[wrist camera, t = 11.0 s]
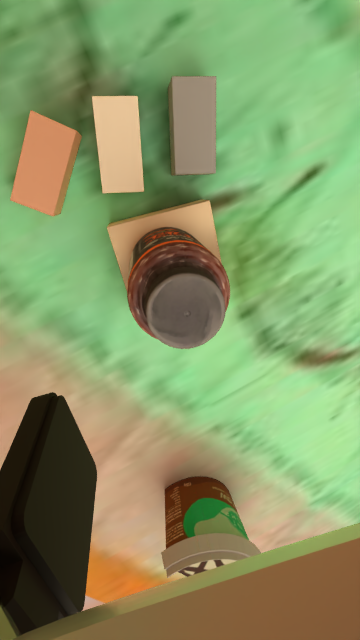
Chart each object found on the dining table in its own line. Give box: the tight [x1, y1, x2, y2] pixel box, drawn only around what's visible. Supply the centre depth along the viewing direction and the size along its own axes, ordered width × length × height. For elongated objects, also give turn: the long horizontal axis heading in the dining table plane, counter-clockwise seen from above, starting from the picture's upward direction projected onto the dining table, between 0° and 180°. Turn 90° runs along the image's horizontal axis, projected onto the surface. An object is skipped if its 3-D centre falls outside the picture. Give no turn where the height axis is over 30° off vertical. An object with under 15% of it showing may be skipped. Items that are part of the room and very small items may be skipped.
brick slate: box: [168, 76, 216, 176], centre depth 25 cm, size 6×3×3 cm, turn 2°
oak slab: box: [107, 199, 222, 290], centre depth 28 cm, size 8×8×3 cm
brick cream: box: [92, 96, 144, 193], centre depth 25 cm, size 6×3×3 cm, turn 2°
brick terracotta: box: [10, 111, 82, 216], centre depth 25 cm, size 6×3×3 cm, turn 158°
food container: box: [161, 477, 261, 578], centre depth 36 cm, size 12×6×10 cm, turn 44°
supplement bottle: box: [127, 227, 230, 349], centre depth 22 cm, size 6×6×11 cm
